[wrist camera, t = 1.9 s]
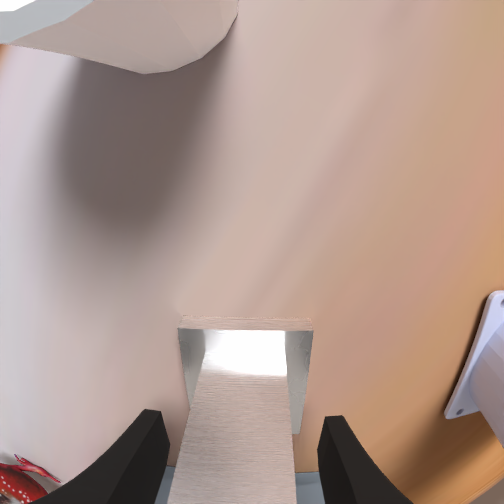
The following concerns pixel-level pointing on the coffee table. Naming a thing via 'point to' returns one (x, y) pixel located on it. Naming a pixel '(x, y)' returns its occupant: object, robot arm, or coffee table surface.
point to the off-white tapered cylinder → (120, 29)
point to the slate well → (306, 484)
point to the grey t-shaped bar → (241, 408)
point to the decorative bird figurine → (20, 483)
